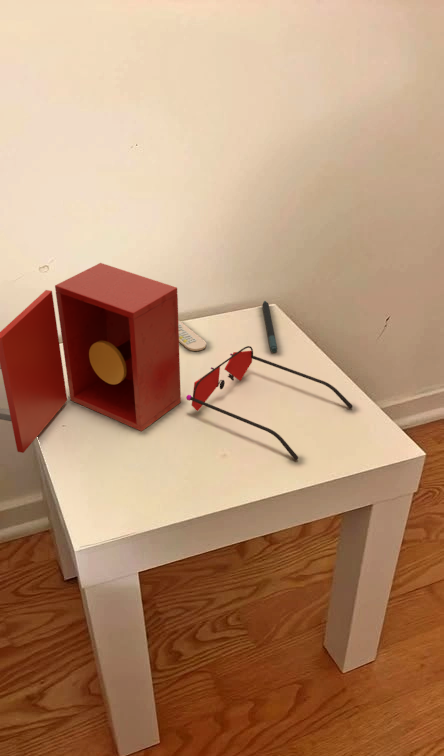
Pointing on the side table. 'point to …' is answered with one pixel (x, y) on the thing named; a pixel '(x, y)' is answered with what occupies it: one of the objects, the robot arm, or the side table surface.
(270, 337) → the pen
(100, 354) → the cabinet
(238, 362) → the glasses
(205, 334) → the side table surface
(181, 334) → the beige remote control
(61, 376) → the door
